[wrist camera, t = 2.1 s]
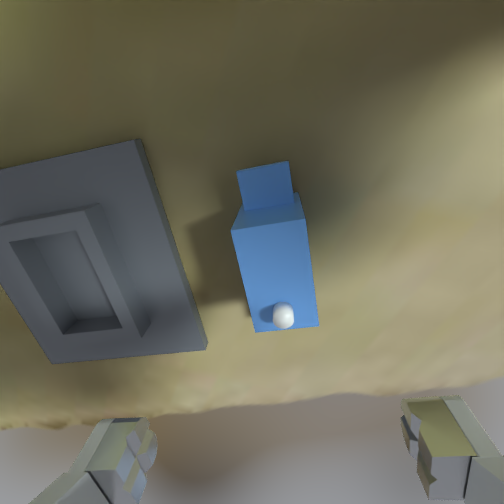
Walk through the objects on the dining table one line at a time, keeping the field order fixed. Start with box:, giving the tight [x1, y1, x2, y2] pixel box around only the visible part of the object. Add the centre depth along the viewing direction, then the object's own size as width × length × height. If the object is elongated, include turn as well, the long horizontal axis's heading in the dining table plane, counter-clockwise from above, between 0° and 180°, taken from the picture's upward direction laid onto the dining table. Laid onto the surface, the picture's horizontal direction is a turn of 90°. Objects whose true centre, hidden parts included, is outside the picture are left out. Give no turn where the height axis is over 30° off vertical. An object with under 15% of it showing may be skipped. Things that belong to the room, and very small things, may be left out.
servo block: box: [231, 160, 319, 333], centre depth 19 cm, size 4×12×7 cm, turn 11°
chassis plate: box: [0, 139, 208, 364], centre depth 23 cm, size 16×18×3 cm
